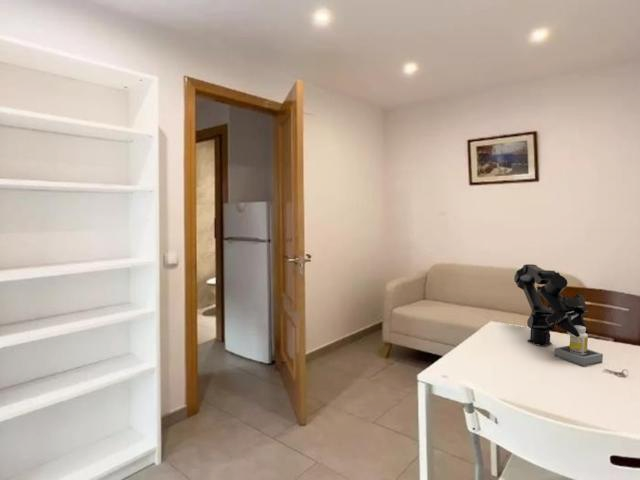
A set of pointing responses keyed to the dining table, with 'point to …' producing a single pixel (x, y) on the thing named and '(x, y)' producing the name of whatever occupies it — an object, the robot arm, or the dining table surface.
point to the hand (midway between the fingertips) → (583, 335)
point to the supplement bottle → (579, 341)
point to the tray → (579, 356)
